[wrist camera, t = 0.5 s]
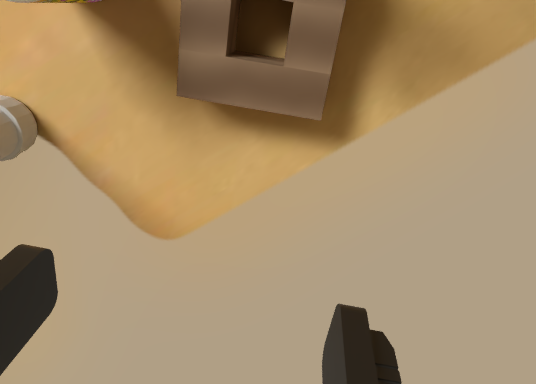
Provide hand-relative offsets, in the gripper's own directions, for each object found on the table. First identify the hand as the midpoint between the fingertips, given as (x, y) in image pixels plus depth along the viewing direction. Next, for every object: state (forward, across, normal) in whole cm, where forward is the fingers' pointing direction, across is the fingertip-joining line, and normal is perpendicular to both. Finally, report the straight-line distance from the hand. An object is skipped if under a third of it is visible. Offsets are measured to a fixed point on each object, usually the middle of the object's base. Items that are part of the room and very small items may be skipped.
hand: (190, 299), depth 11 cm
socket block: (+25, +1, -5) cm, 26 cm away
